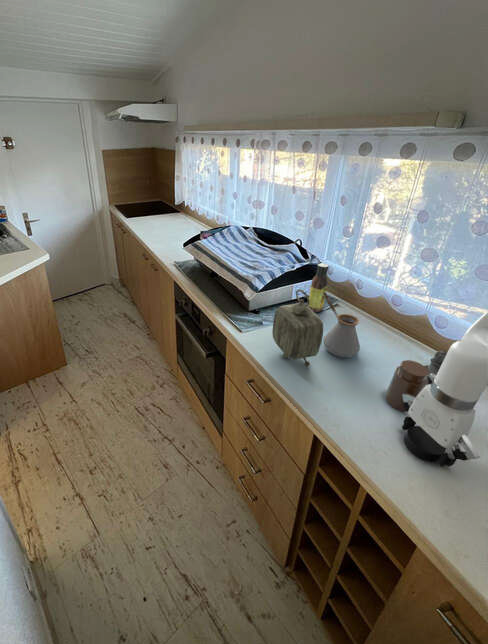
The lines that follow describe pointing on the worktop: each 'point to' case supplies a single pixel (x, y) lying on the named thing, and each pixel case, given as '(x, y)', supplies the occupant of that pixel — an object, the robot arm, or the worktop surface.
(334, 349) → the coffee pot
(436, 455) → the jar lid
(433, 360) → the grey stepped cylinder
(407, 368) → the jar
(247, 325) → the worktop surface
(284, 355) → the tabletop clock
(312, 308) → the sauce bottle
